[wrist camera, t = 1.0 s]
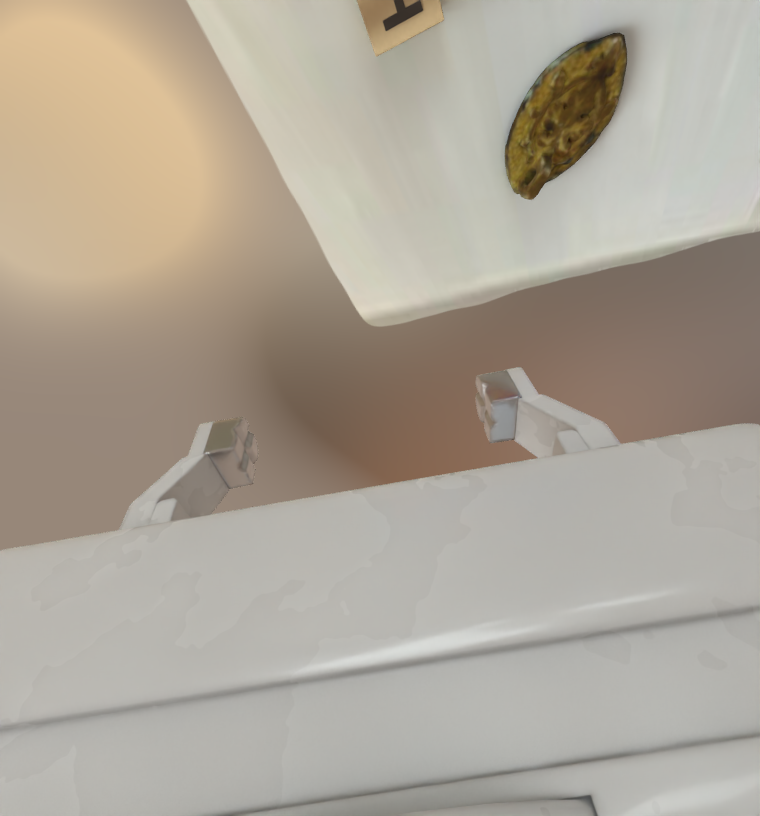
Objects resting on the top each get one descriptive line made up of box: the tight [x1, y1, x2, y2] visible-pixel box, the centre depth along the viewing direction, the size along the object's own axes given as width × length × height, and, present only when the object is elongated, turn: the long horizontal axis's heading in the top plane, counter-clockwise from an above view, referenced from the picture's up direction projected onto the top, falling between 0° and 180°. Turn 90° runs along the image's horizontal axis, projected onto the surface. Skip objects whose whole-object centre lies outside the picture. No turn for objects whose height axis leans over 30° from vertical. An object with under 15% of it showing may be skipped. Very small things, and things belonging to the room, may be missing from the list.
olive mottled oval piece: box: [505, 33, 627, 200], centre depth 41 cm, size 9×5×15 cm
